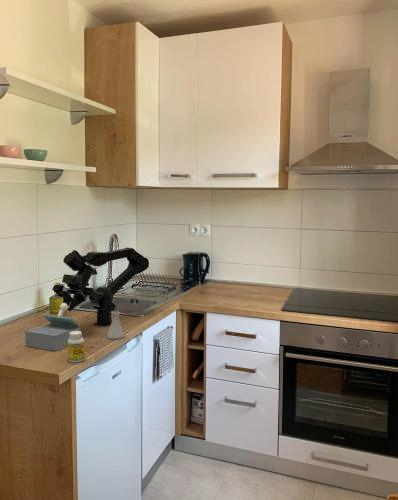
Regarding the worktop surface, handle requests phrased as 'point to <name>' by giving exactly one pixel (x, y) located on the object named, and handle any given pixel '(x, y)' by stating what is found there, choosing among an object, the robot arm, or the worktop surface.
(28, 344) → the carton
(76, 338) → the supplement bottle
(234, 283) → the worktop surface
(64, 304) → the near flap
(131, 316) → the worktop surface
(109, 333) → the flask
